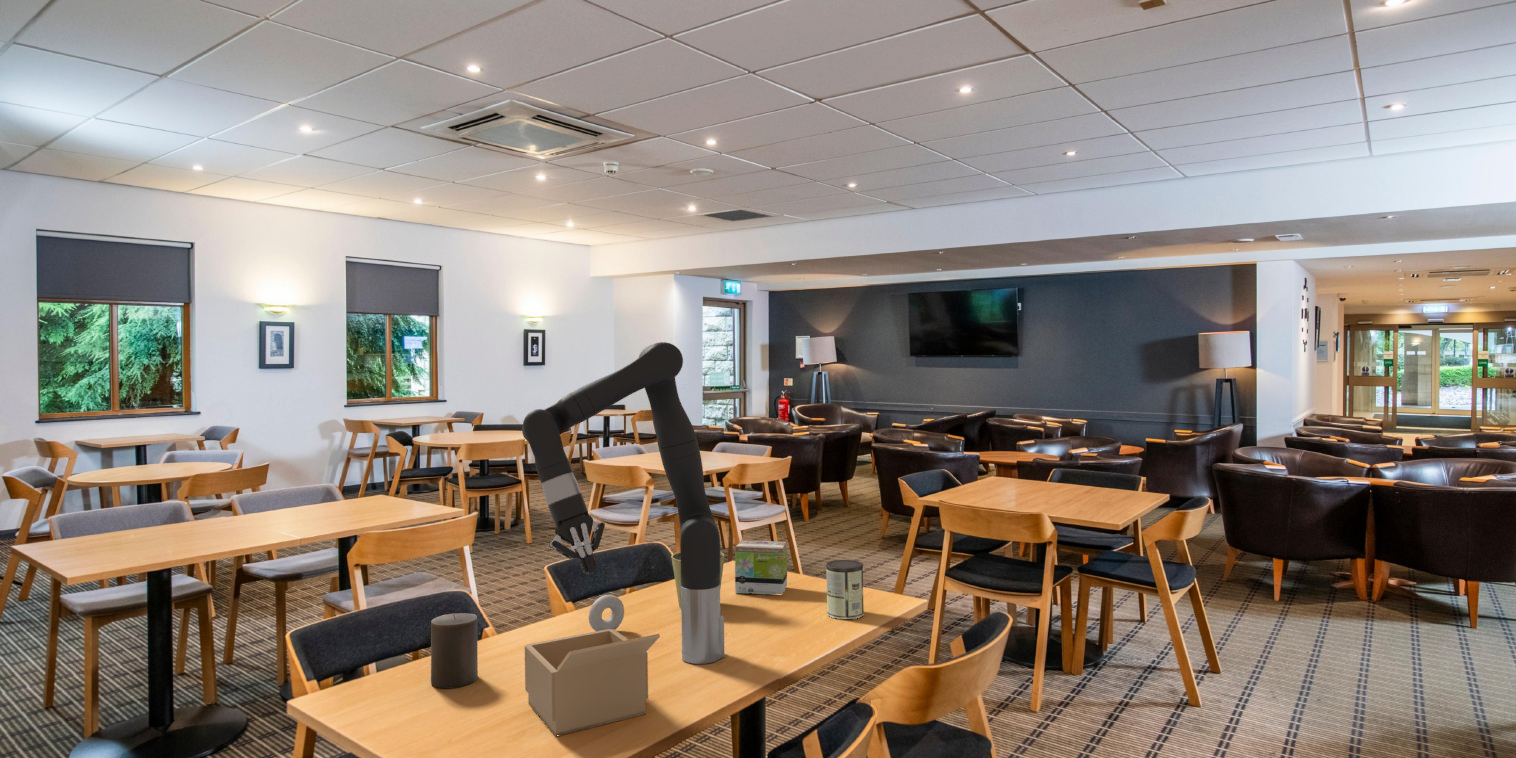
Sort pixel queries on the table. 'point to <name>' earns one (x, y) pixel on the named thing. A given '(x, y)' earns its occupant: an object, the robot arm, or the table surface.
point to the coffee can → (844, 589)
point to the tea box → (760, 567)
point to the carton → (584, 684)
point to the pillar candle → (454, 650)
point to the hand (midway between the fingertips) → (591, 573)
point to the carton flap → (607, 652)
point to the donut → (600, 606)
